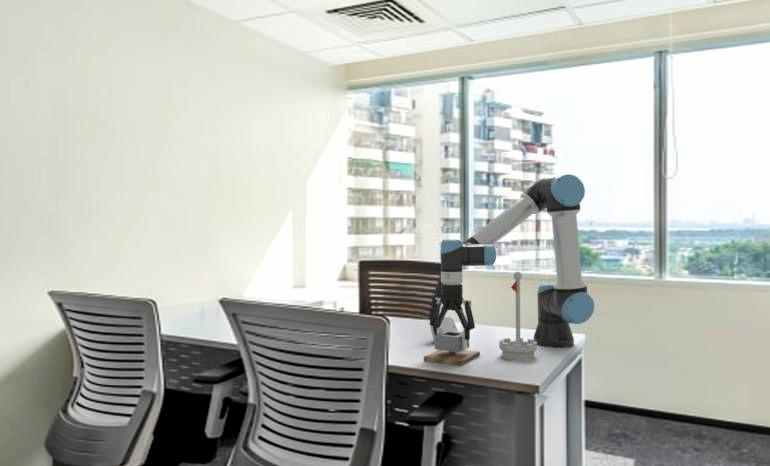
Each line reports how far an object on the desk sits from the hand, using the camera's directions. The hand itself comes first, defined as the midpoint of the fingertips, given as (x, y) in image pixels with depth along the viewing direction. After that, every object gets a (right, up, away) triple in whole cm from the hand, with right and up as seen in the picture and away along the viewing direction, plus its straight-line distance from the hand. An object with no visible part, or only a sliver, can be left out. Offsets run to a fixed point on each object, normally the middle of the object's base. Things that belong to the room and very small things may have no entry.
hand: (452, 347), depth 203 cm
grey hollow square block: (0, 0, 0) cm, 0 cm away
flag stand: (+24, -4, +2) cm, 24 cm away
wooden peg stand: (0, -4, 0) cm, 4 cm away
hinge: (+1, -3, +32) cm, 33 cm away
